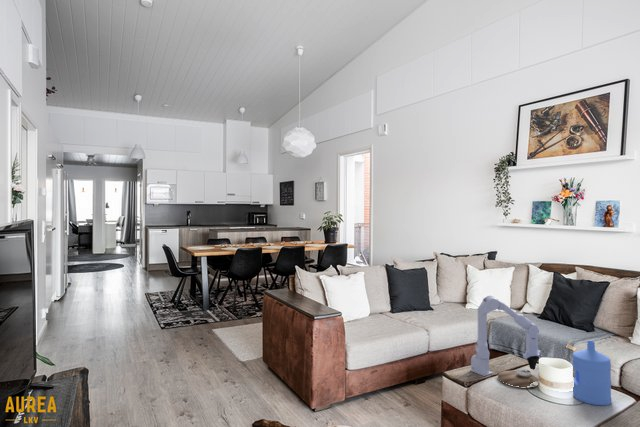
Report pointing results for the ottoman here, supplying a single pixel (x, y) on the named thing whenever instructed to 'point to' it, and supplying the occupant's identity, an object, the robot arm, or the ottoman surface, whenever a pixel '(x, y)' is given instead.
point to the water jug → (592, 376)
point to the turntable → (515, 379)
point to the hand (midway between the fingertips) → (532, 368)
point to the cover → (523, 373)
